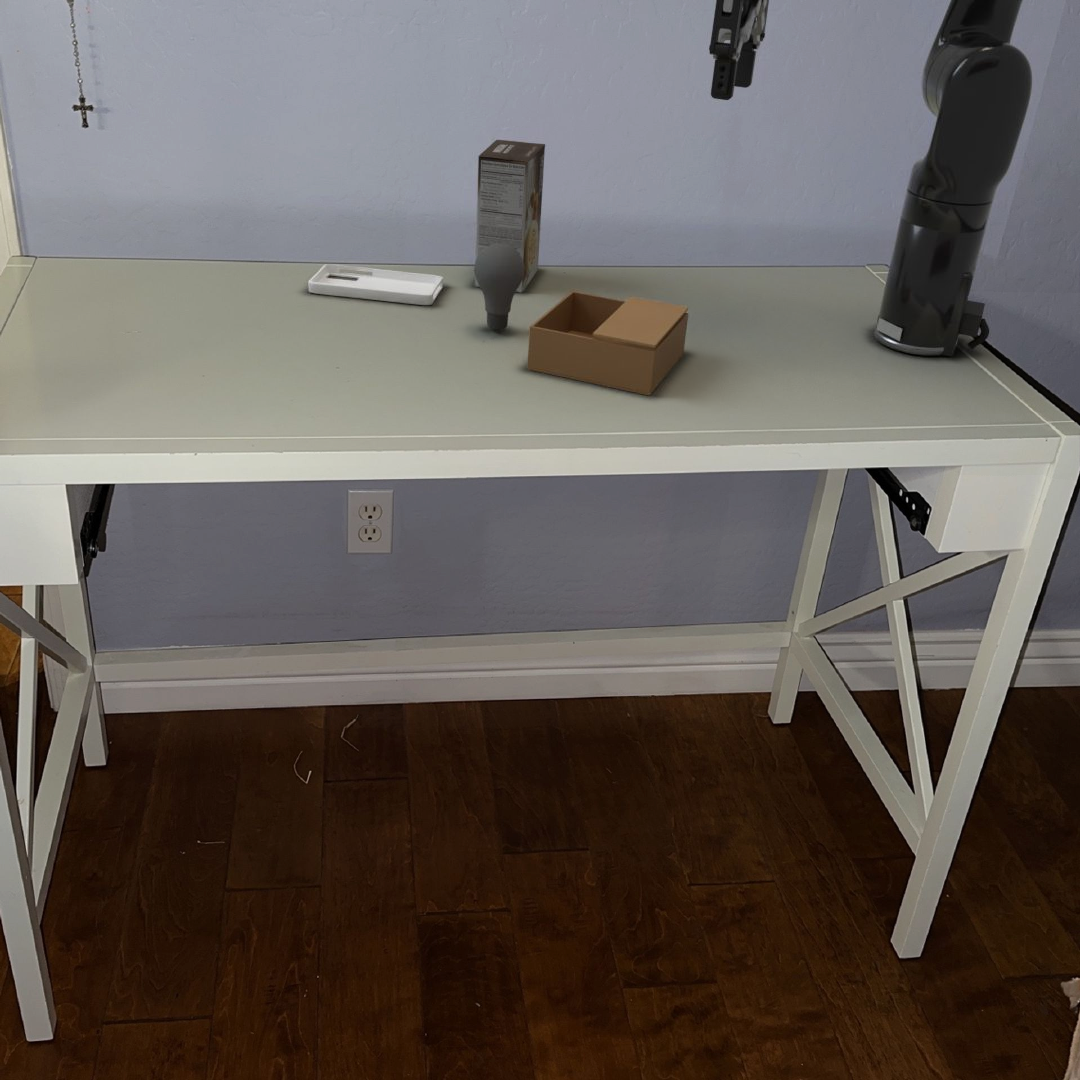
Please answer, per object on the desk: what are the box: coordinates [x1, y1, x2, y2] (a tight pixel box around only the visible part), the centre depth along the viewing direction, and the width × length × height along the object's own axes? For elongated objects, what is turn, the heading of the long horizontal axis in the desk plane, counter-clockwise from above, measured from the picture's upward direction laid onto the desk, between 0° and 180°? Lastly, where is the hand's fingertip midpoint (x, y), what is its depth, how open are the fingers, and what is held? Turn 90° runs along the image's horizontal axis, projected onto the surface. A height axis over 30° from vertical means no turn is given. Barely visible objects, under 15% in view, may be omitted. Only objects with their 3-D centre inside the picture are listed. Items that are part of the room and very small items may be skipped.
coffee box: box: [474, 139, 546, 293], centre depth 143 cm, size 9×6×16 cm
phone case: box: [307, 263, 444, 306], centre depth 141 cm, size 7×1×15 cm
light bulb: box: [473, 243, 525, 333], centre depth 129 cm, size 6×6×10 cm
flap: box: [593, 296, 690, 348], centre depth 122 cm, size 7×12×1 cm, turn 158°
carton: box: [526, 290, 689, 396], centre depth 125 cm, size 14×13×5 cm
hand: (731, 92), depth 124 cm, fingers open, 8 cm apart
